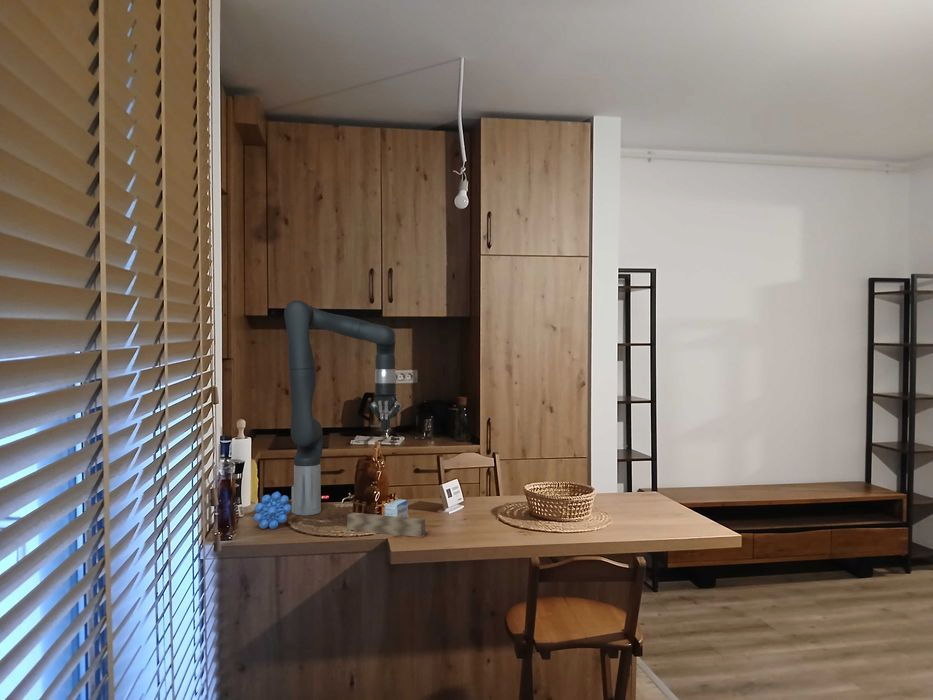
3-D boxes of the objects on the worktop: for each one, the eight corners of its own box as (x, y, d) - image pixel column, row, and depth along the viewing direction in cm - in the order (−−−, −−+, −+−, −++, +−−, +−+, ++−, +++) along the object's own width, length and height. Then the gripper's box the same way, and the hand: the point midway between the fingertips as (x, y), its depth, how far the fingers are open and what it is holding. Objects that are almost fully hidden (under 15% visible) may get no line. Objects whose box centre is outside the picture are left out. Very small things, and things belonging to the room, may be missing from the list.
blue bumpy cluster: (292, 524, 217) (292, 488, 217) (290, 530, 210) (290, 492, 210) (255, 526, 215) (255, 489, 215) (252, 532, 208) (252, 494, 208)
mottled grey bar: (347, 530, 210) (347, 514, 210) (351, 527, 213) (351, 512, 213) (421, 537, 201) (421, 521, 201) (425, 535, 204) (425, 519, 204)
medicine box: (397, 532, 207) (397, 505, 207) (384, 531, 208) (384, 504, 208) (408, 526, 214) (408, 499, 214) (395, 525, 216) (395, 498, 216)
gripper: (364, 382, 234) (364, 430, 234) (397, 382, 229) (397, 431, 229) (374, 381, 241) (374, 428, 241) (406, 381, 236) (406, 429, 236)
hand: (385, 429), depth 235 cm, fingers closed
